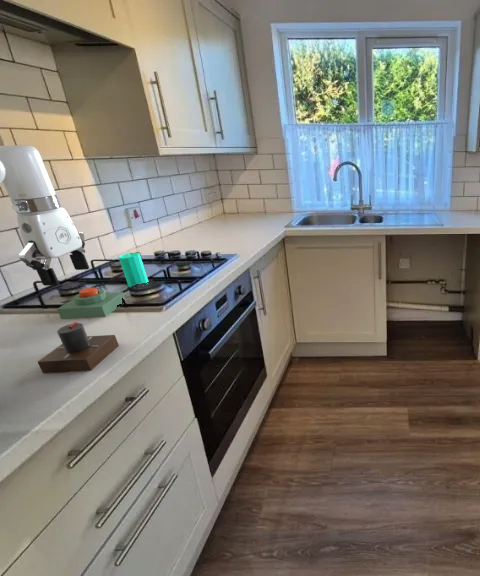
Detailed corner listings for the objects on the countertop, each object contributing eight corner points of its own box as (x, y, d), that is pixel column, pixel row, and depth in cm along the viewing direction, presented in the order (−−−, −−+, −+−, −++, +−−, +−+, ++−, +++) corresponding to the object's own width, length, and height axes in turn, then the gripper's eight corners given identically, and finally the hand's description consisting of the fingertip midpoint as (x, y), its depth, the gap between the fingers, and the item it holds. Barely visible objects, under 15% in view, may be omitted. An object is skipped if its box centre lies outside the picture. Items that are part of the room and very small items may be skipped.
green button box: (61, 319, 101) (54, 303, 99) (85, 303, 110) (80, 288, 108) (105, 316, 101) (99, 300, 99) (126, 301, 110) (121, 286, 108)
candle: (152, 282, 124) (141, 249, 119) (133, 288, 119) (121, 254, 114) (143, 279, 127) (133, 246, 122) (125, 285, 122) (113, 251, 117)
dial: (82, 352, 79) (73, 331, 77) (60, 353, 79) (51, 332, 77) (94, 341, 83) (86, 321, 81) (74, 342, 83) (65, 322, 81)
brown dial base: (42, 373, 78) (36, 361, 76) (76, 347, 87) (71, 336, 85) (91, 370, 78) (85, 358, 77) (119, 345, 87) (114, 334, 86)
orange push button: (77, 298, 102) (75, 293, 101) (87, 293, 105) (85, 287, 105) (92, 298, 102) (90, 292, 101) (101, 292, 106) (99, 286, 105)
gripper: (20, 213, 72) (55, 291, 79) (83, 197, 88) (107, 263, 95) (-19, 214, 72) (20, 292, 79) (51, 198, 87) (78, 264, 94)
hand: (67, 276), depth 87 cm, fingers open, 9 cm apart
